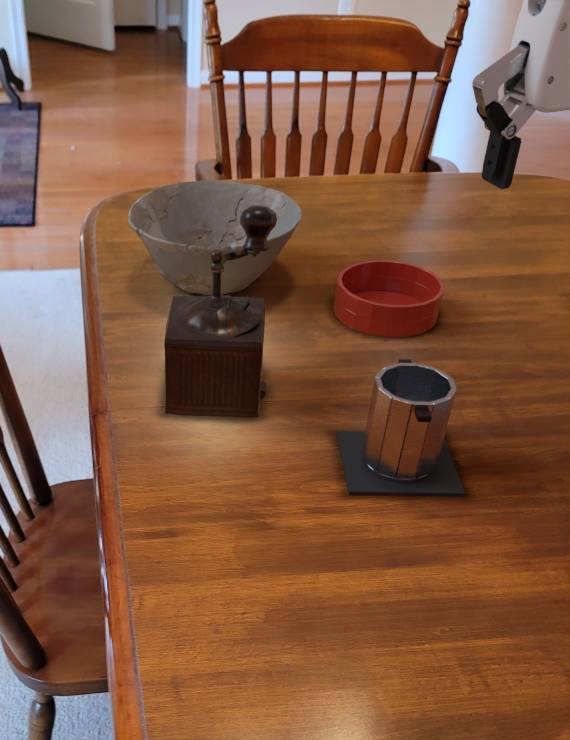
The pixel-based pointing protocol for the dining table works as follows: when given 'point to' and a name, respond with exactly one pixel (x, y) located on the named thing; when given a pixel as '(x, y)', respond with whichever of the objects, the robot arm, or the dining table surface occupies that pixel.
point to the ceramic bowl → (209, 231)
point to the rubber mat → (367, 483)
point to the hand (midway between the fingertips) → (543, 174)
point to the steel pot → (407, 421)
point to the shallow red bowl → (388, 298)
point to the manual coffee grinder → (219, 339)
